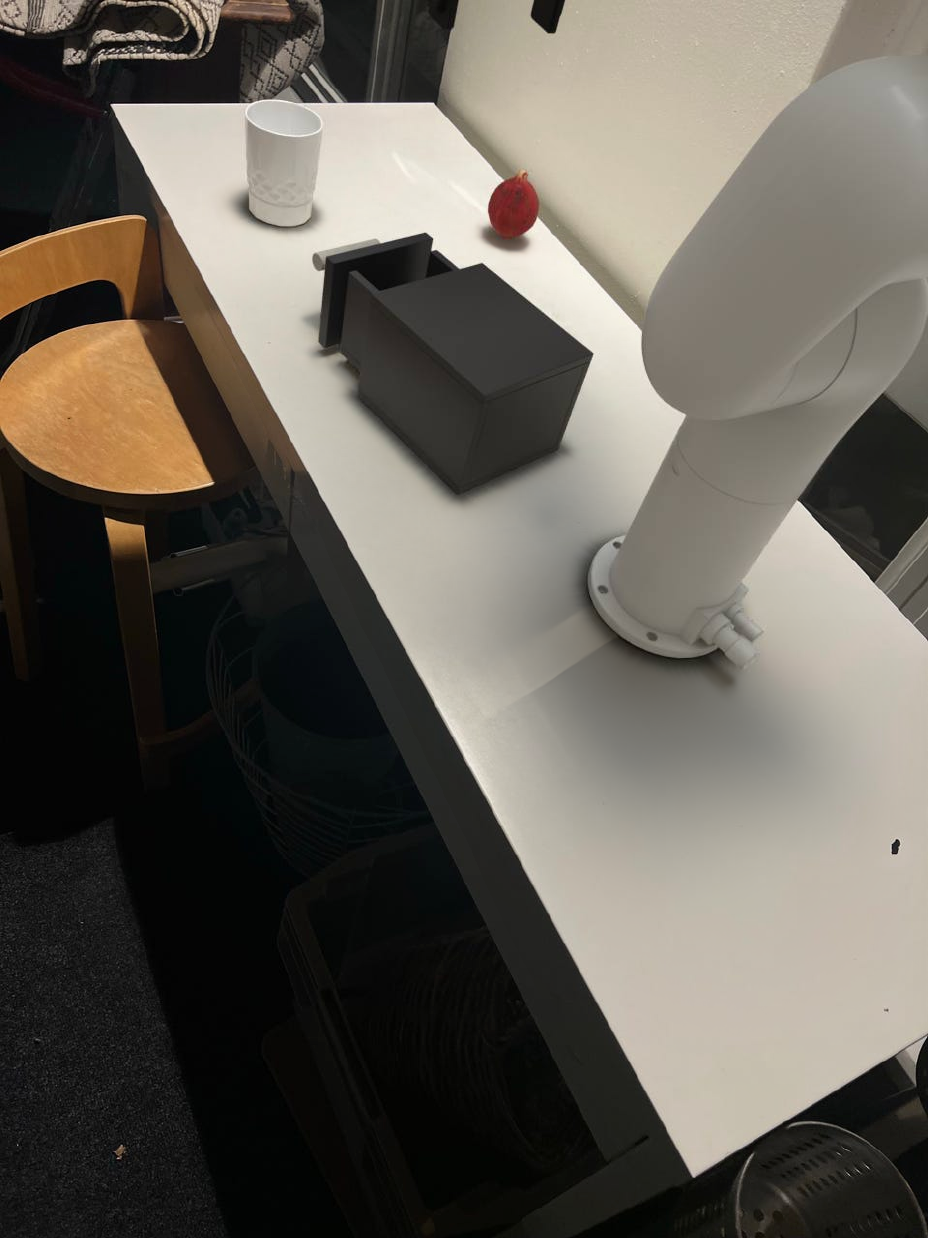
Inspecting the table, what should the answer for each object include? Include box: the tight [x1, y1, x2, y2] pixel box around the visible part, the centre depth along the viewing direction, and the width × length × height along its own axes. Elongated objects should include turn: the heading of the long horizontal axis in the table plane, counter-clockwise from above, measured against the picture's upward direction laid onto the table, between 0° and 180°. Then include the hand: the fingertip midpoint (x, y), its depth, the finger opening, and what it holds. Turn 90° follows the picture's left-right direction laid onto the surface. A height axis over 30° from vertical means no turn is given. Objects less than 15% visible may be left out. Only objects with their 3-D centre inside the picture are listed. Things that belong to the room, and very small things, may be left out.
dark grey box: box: [356, 262, 594, 495], centre depth 79 cm, size 15×13×11 cm
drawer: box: [311, 232, 460, 372], centre depth 83 cm, size 18×11×9 cm, turn 41°
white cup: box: [244, 99, 324, 227], centre depth 96 cm, size 8×8×10 cm
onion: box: [487, 169, 540, 240], centre depth 103 cm, size 6×6×8 cm
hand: (492, 24), depth 73 cm, fingers open, 9 cm apart
